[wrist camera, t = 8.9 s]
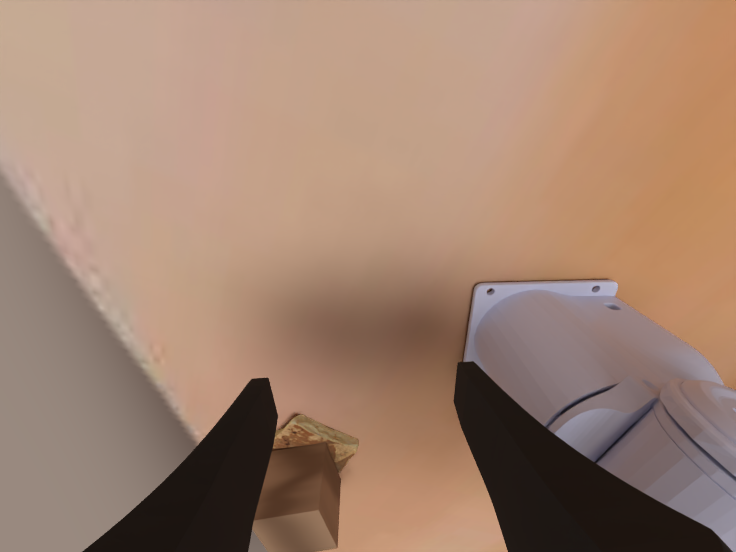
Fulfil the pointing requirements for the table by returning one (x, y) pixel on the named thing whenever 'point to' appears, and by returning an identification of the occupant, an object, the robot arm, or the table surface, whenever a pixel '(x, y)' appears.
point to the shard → (316, 439)
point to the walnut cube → (299, 501)
